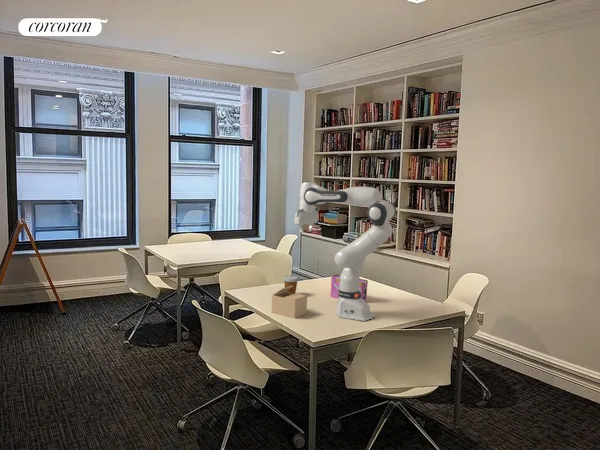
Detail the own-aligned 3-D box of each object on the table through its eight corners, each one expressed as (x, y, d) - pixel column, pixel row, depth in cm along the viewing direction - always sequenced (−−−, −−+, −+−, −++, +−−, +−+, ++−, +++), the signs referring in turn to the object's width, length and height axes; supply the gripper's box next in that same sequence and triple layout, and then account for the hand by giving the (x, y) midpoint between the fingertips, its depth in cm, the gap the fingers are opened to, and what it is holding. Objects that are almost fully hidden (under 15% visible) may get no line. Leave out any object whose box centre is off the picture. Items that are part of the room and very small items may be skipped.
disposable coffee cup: (300, 295, 324) (301, 277, 323) (292, 298, 316) (293, 279, 315) (287, 292, 329) (288, 275, 327) (280, 295, 321) (280, 277, 319)
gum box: (368, 301, 318) (369, 280, 316) (363, 303, 311) (364, 282, 309) (335, 294, 331) (337, 274, 329) (329, 296, 324) (331, 276, 322)
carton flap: (293, 286, 288) (292, 285, 288) (281, 289, 278) (281, 288, 279) (284, 291, 292) (283, 290, 292) (272, 295, 282) (272, 294, 283)
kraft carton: (306, 313, 284) (307, 295, 283) (294, 318, 274) (295, 299, 273) (283, 308, 293) (284, 290, 292) (271, 312, 283) (272, 294, 282)
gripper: (301, 209, 285) (300, 233, 286) (320, 208, 301) (319, 230, 303) (292, 208, 288) (291, 232, 290) (311, 207, 305) (310, 229, 307)
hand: (305, 231), depth 297 cm, fingers open, 8 cm apart
